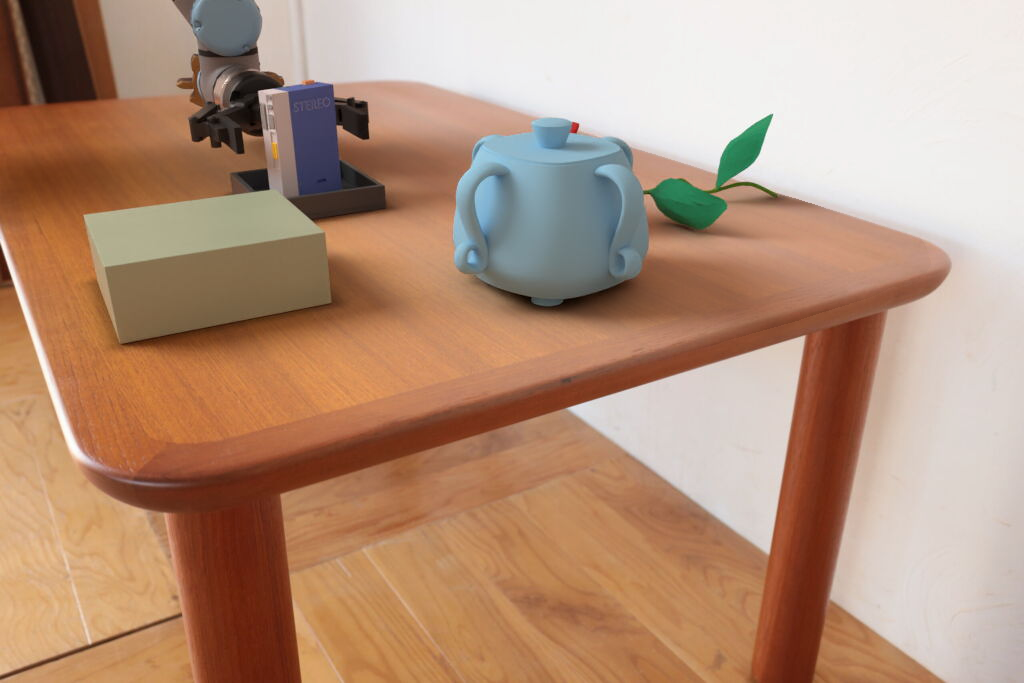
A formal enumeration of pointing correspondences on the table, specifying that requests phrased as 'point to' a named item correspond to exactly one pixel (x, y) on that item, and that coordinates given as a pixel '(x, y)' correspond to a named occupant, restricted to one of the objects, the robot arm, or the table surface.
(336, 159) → the walkman
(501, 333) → the table surface
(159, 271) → the block
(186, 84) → the wooden carving
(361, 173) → the tray
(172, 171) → the table surface
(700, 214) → the decorative flower
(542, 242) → the decorative pot
